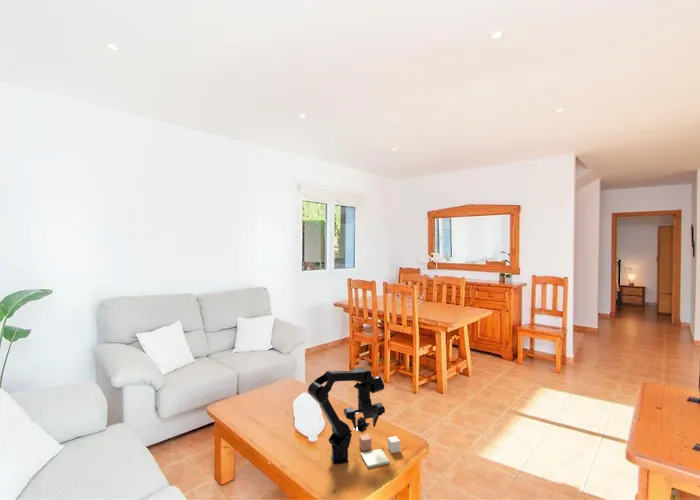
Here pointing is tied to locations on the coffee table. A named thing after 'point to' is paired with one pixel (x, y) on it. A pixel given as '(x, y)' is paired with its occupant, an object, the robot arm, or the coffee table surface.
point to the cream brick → (394, 444)
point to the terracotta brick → (365, 442)
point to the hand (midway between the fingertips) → (364, 428)
